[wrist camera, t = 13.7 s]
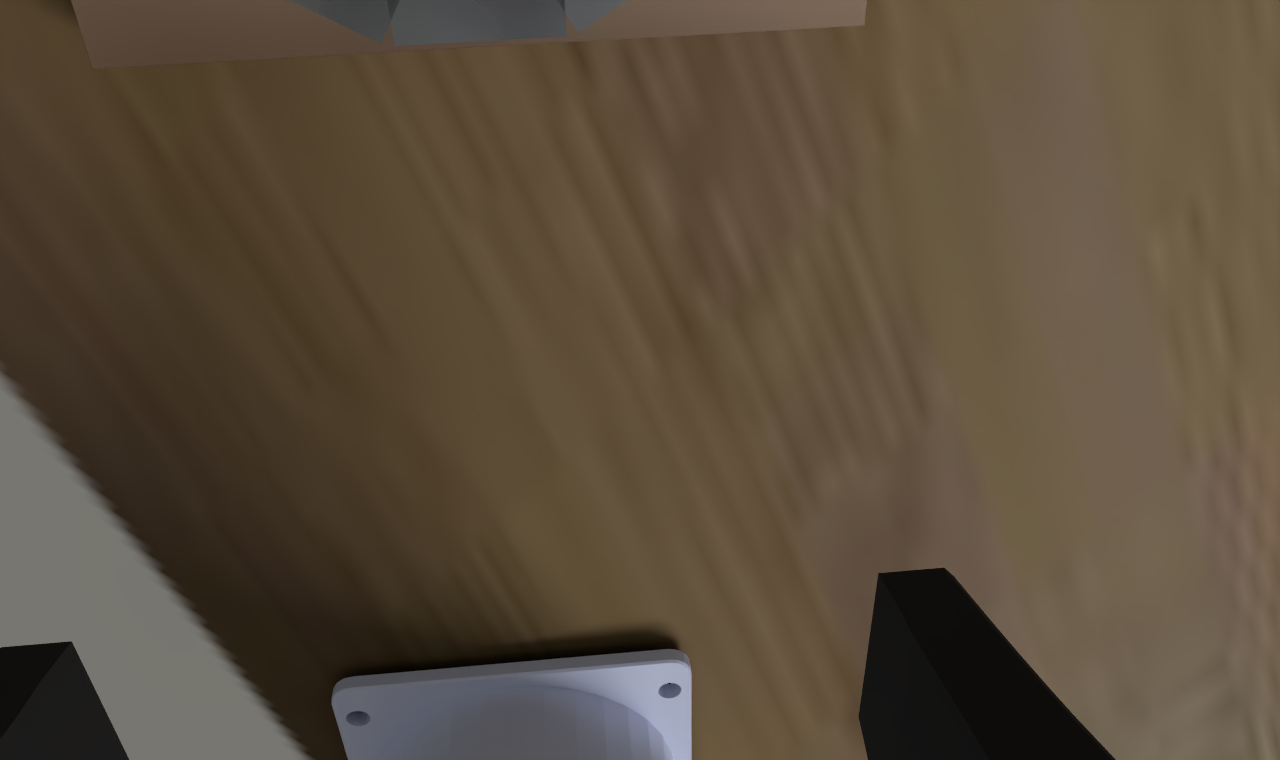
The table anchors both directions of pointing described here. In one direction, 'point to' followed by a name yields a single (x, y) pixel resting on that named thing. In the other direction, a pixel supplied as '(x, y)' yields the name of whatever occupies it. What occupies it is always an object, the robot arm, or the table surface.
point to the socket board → (413, 25)
